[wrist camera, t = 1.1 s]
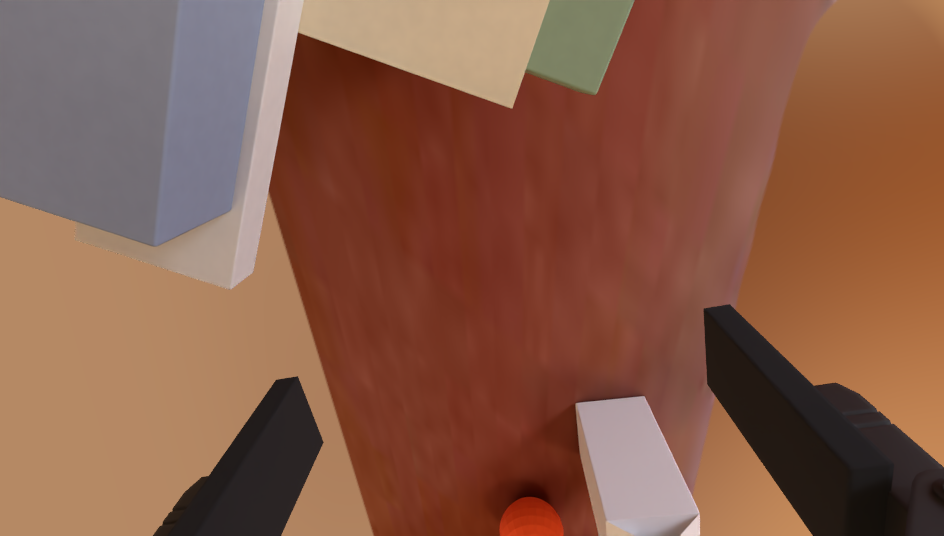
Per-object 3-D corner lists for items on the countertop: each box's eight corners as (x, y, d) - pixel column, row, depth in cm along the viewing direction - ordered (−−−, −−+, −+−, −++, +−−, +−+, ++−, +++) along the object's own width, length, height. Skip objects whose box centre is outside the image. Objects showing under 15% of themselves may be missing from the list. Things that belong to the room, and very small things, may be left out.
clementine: (576, 516, 58) (587, 573, 51) (528, 542, 60) (533, 601, 53) (535, 473, 56) (541, 526, 49) (486, 501, 58) (486, 557, 51)
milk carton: (579, 455, 55) (622, 637, 37) (574, 401, 52) (617, 569, 35) (645, 449, 54) (721, 631, 36) (644, 394, 52) (724, 561, 34)
